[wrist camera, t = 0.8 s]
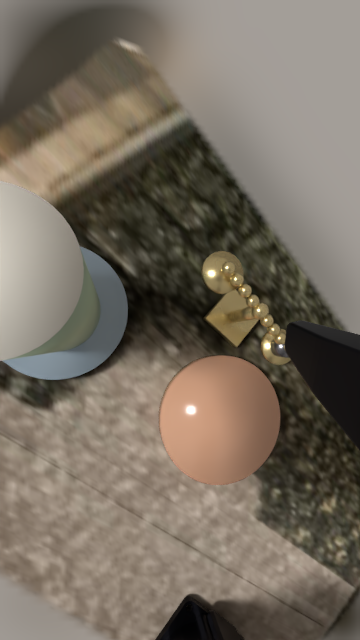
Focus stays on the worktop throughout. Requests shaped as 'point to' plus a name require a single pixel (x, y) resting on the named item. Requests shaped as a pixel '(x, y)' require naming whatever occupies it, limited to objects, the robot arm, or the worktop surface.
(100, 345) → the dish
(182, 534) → the worktop surface
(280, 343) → the balance
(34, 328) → the canister
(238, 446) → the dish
